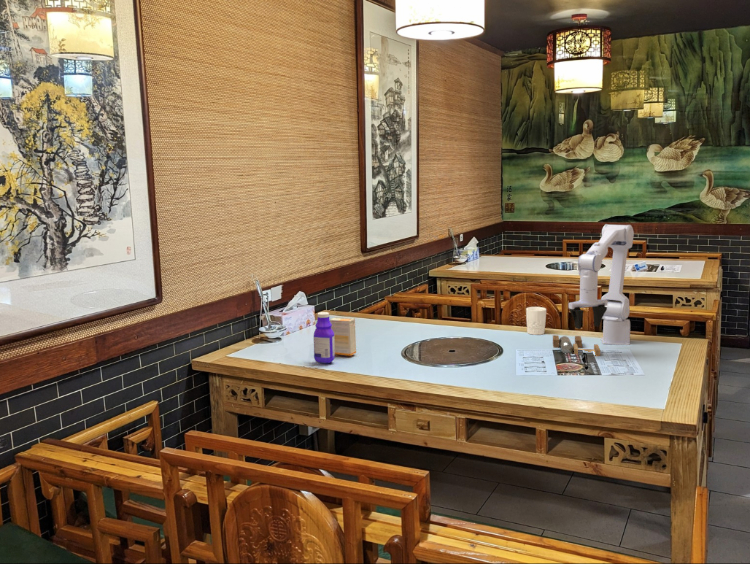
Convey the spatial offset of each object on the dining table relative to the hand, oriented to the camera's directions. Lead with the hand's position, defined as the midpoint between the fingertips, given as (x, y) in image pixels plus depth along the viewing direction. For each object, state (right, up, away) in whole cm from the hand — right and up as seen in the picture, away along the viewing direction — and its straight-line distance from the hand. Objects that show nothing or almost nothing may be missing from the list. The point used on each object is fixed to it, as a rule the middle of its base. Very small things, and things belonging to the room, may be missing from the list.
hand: (587, 327), depth 233 cm
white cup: (-9, -5, +37) cm, 39 cm away
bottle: (-92, -12, +3) cm, 92 cm away
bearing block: (-3, -8, +16) cm, 18 cm away
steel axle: (-4, -9, +10) cm, 14 cm away
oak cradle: (+1, -10, +5) cm, 11 cm away
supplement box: (-85, -11, +13) cm, 87 cm away
